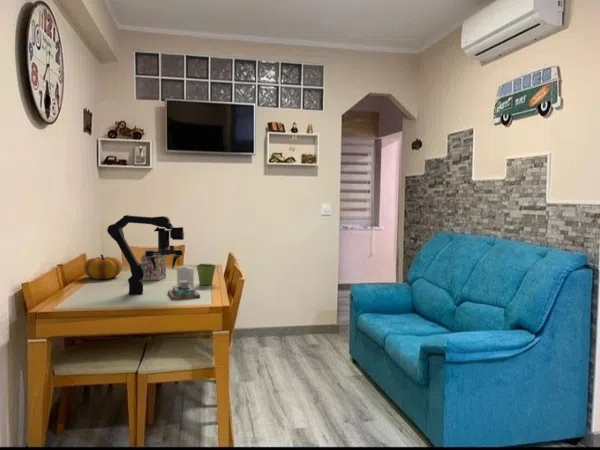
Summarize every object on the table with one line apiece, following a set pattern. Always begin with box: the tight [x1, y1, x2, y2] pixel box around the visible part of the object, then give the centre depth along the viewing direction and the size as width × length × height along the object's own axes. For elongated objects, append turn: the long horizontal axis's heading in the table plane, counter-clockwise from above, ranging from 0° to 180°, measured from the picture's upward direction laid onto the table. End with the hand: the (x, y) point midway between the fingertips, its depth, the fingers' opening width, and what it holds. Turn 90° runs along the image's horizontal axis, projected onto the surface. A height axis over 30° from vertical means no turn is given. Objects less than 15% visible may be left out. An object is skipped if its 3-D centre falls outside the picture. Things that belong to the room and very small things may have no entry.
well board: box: [167, 285, 201, 301], centre depth 236 cm, size 14×16×4 cm
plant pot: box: [195, 263, 217, 286], centre depth 266 cm, size 12×12×11 cm
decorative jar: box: [140, 249, 167, 281], centre depth 281 cm, size 12×12×18 cm
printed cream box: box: [176, 265, 195, 288], centre depth 256 cm, size 10×4×12 cm, turn 60°
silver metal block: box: [179, 280, 188, 290], centre depth 236 cm, size 4×7×6 cm, turn 23°
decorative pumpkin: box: [82, 254, 123, 281], centre depth 281 cm, size 20×22×15 cm
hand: (163, 269), depth 240 cm, fingers open, 9 cm apart
